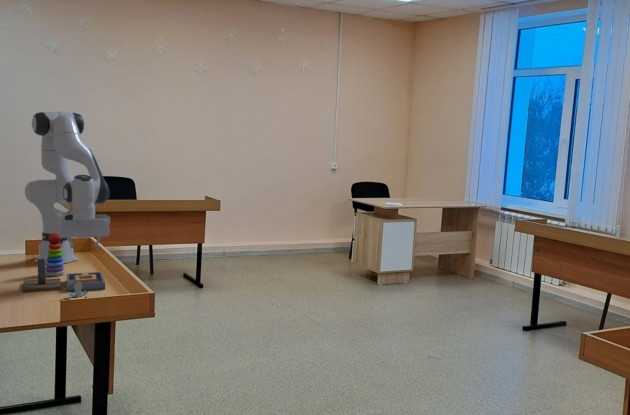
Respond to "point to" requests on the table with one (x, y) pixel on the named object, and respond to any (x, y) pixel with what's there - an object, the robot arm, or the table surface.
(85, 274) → the light brown flat block
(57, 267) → the stacking toy
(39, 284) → the post stand
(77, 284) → the pacifier
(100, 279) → the tray
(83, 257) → the table surface
